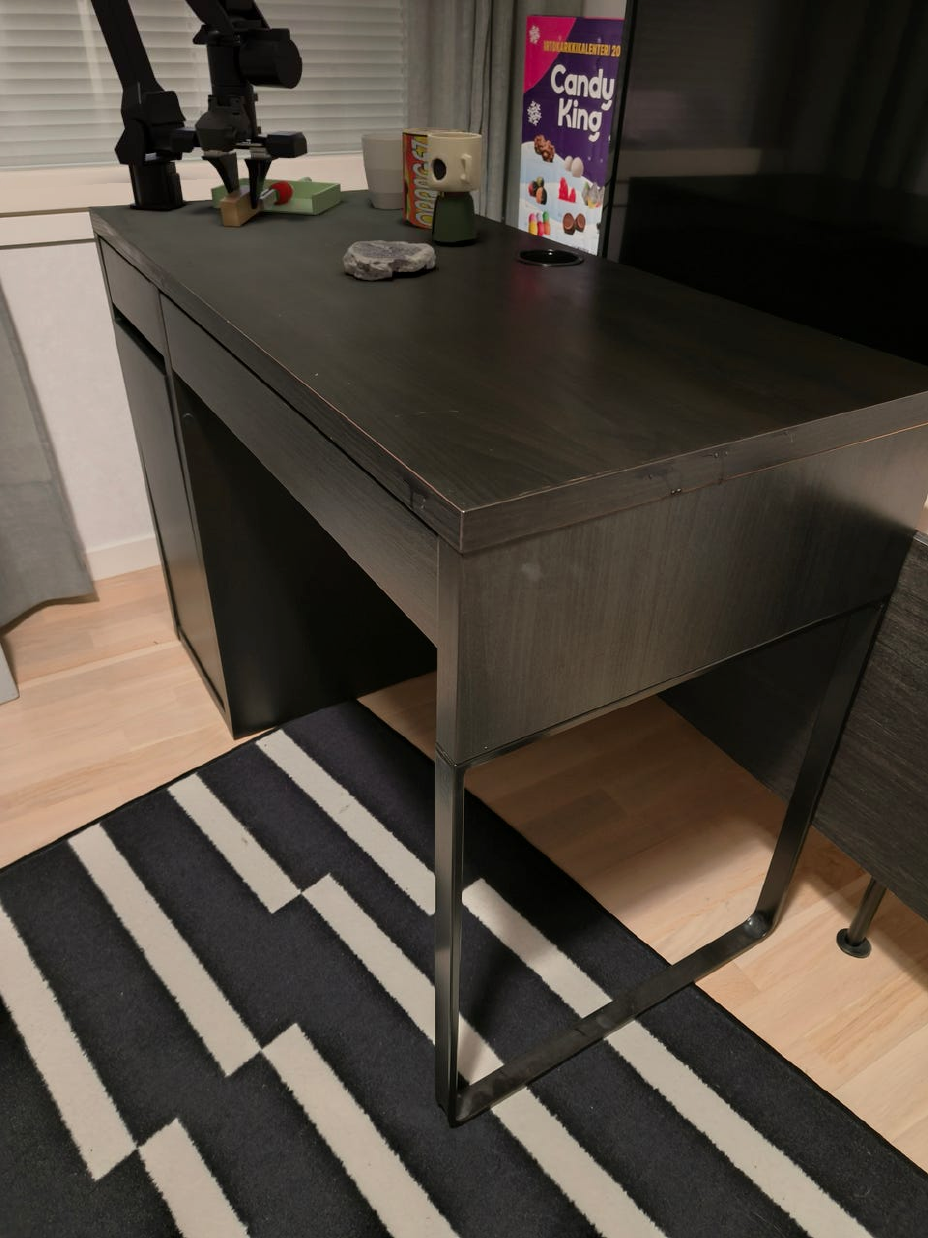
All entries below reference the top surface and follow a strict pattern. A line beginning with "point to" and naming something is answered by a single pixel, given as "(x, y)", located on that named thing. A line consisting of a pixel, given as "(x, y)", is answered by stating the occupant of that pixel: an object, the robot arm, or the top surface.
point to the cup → (384, 169)
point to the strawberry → (281, 191)
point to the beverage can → (418, 177)
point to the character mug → (454, 183)
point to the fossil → (386, 258)
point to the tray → (294, 196)
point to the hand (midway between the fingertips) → (245, 207)
